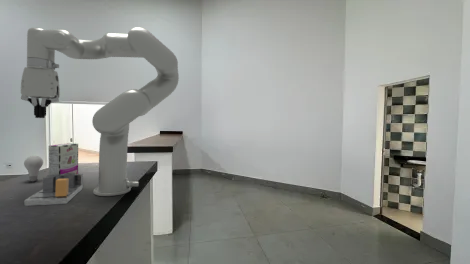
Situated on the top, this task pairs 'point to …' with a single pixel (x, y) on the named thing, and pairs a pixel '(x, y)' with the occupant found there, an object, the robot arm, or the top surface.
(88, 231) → the top surface
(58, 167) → the candy bar box
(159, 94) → the robot arm
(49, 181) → the console
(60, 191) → the cap
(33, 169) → the lightbulb
